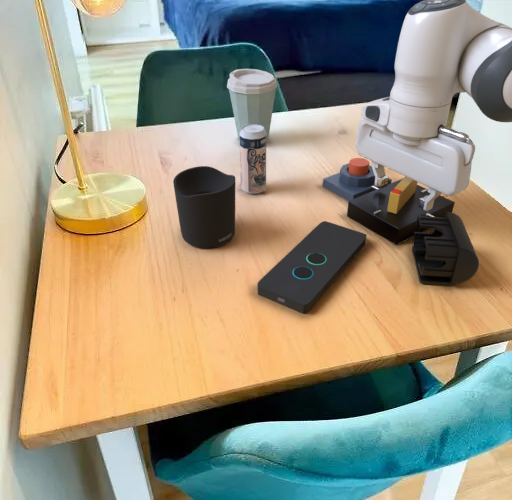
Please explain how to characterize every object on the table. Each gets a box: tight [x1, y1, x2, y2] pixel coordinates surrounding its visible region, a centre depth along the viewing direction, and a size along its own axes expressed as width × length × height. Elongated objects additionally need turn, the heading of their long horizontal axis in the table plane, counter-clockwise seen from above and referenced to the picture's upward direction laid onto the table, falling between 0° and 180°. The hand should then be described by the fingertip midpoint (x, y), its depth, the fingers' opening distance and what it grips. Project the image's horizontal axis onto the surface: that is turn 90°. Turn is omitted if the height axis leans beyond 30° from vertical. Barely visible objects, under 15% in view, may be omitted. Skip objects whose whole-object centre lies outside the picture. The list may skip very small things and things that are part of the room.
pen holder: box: [172, 165, 236, 249], centre depth 80 cm, size 9×9×10 cm
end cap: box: [411, 211, 480, 287], centre depth 73 cm, size 10×7×7 cm
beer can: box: [239, 124, 267, 195], centre depth 92 cm, size 5×5×12 cm
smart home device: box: [257, 220, 368, 314], centre depth 75 cm, size 8×2×20 cm
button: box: [348, 157, 370, 176], centre depth 93 cm, size 4×4×2 cm
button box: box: [322, 162, 392, 201], centre depth 95 cm, size 10×8×4 cm
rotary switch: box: [346, 178, 456, 246], centre depth 86 cm, size 14×13×3 cm
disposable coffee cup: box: [226, 68, 278, 144], centre depth 109 cm, size 11×11×15 cm
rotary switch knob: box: [387, 176, 418, 214], centre depth 84 cm, size 9×2×4 cm, turn 146°
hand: (402, 196), depth 84 cm, fingers open, 8 cm apart
